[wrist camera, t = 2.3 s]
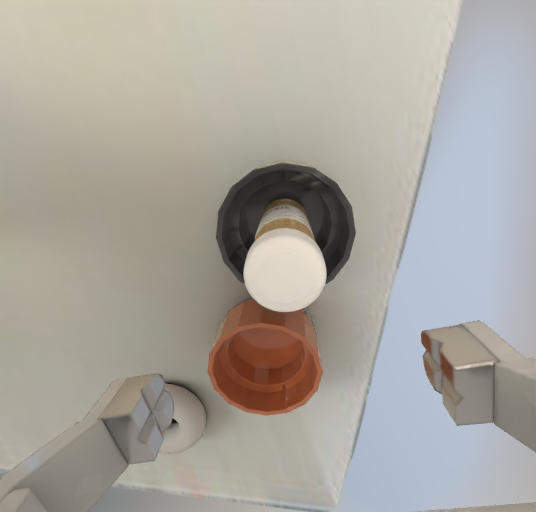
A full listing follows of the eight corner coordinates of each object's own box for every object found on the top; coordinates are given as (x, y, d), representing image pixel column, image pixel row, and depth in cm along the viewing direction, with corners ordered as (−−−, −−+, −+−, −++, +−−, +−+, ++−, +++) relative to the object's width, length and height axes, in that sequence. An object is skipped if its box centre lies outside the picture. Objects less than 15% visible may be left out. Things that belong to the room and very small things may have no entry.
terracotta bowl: (207, 305, 32) (192, 335, 27) (305, 286, 30) (309, 314, 25) (235, 382, 35) (226, 421, 30) (323, 368, 34) (330, 407, 29)
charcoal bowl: (215, 177, 27) (198, 183, 22) (331, 147, 26) (342, 146, 20) (246, 280, 31) (238, 307, 25) (349, 259, 29) (363, 282, 24)
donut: (213, 384, 36) (134, 371, 36) (206, 407, 33) (119, 393, 32) (205, 439, 39) (132, 428, 39) (198, 465, 36) (119, 453, 36)
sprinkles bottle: (263, 243, 29) (245, 316, 16) (259, 198, 27) (237, 238, 15) (308, 242, 28) (327, 314, 16) (308, 196, 27) (328, 235, 14)
